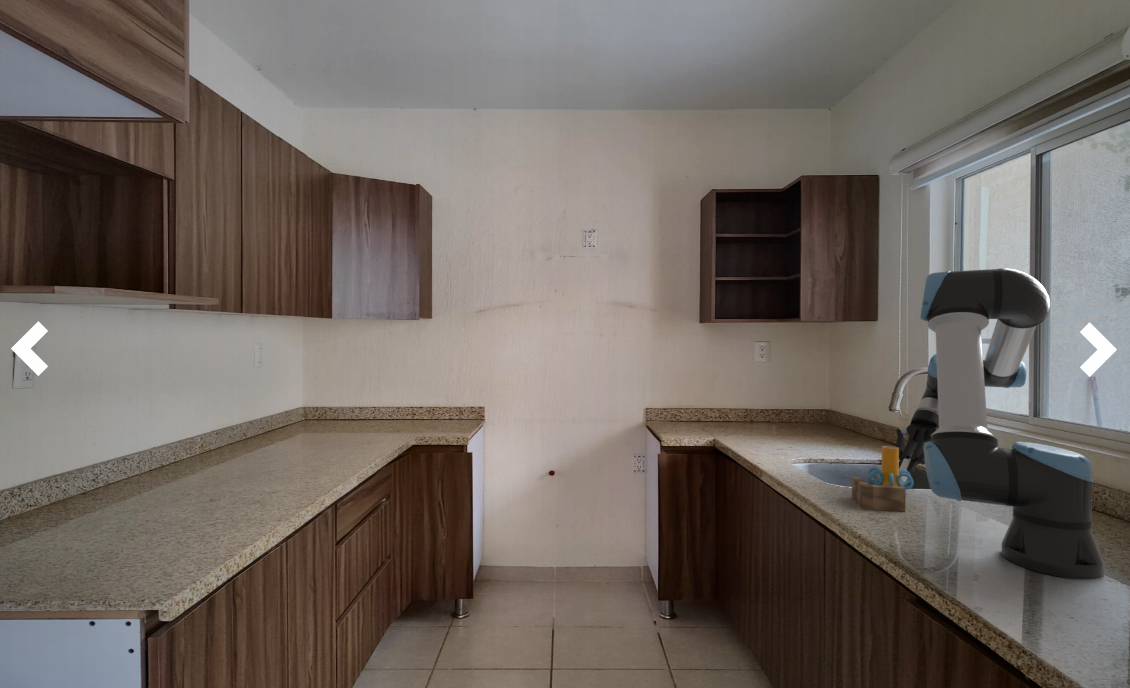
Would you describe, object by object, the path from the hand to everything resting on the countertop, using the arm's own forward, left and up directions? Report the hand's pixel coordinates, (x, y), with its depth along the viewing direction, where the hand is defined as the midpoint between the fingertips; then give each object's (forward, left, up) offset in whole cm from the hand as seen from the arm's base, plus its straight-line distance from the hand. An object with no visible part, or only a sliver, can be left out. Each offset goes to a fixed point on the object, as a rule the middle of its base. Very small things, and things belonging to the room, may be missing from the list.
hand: (900, 479), depth 151 cm
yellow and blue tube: (-6, +1, -5) cm, 8 cm away
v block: (-14, +4, -5) cm, 16 cm away
